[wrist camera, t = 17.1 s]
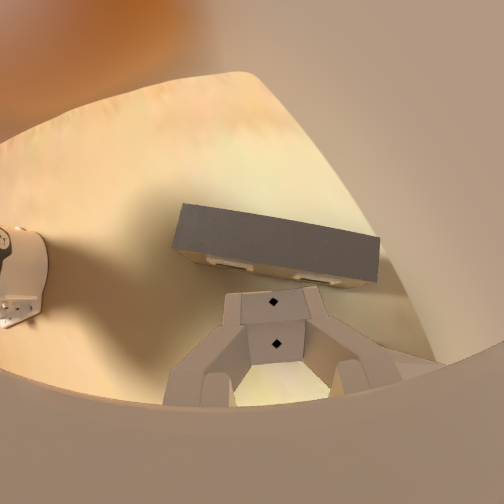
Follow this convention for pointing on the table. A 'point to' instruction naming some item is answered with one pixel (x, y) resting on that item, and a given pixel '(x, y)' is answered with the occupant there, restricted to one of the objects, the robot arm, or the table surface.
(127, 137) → the table surface
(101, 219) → the table surface
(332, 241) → the grey rectangular box
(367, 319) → the table surface
